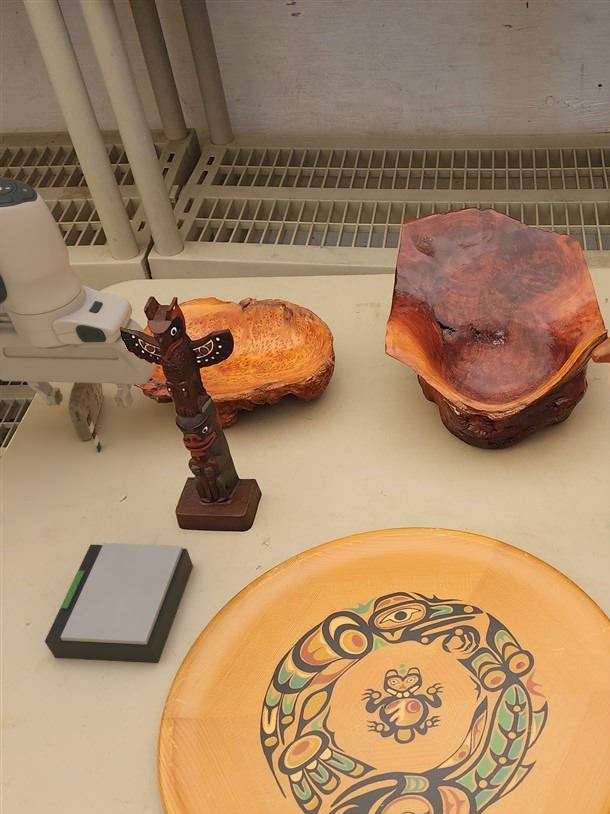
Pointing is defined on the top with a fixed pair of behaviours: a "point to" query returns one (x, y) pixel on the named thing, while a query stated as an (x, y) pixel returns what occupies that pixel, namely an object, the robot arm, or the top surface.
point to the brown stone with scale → (85, 409)
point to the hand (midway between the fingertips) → (90, 403)
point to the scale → (121, 603)
